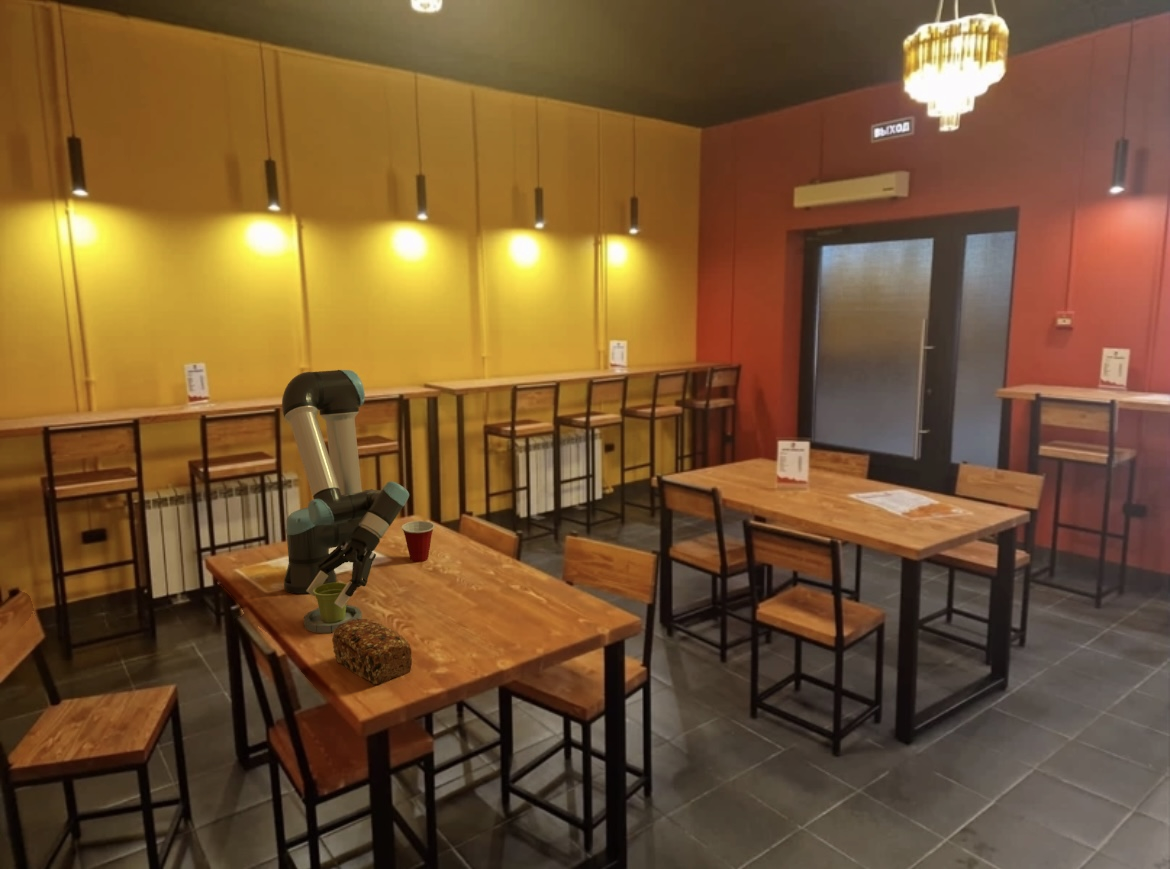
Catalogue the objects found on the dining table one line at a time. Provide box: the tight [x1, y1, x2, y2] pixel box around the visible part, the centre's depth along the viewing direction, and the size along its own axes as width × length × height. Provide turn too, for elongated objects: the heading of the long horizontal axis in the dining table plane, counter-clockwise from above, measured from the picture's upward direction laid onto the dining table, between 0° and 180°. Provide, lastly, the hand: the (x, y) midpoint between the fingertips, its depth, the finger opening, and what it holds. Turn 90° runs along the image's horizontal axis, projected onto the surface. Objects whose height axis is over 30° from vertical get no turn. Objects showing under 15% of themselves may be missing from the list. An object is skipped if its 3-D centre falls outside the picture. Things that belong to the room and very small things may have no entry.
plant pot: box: [313, 581, 347, 623], centre depth 211 cm, size 9×9×9 cm
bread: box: [331, 618, 413, 685], centre depth 184 cm, size 19×11×10 cm, turn 46°
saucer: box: [303, 604, 363, 634], centre depth 211 cm, size 14×14×2 cm
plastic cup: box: [401, 520, 435, 563], centre depth 262 cm, size 11×11×12 cm
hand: (323, 599), depth 209 cm, fingers open, 13 cm apart
